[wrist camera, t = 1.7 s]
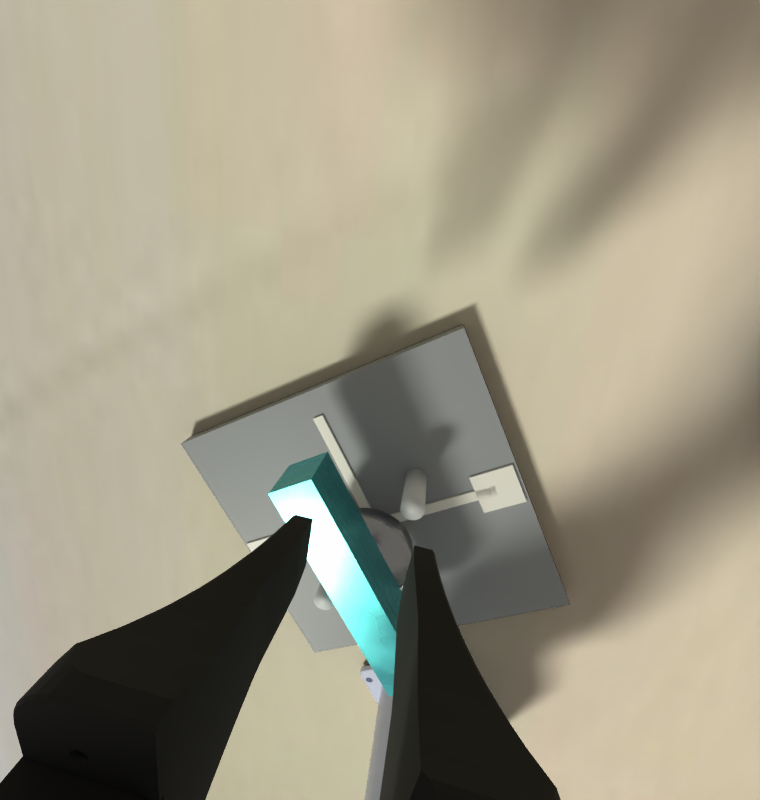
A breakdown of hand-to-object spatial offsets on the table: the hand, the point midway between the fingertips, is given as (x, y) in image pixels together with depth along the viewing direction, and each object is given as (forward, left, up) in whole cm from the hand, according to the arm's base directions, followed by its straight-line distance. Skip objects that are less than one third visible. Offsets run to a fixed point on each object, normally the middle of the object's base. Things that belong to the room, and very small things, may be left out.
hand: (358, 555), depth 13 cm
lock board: (-5, +3, -10) cm, 11 cm away
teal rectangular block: (-5, +3, -7) cm, 9 cm away
